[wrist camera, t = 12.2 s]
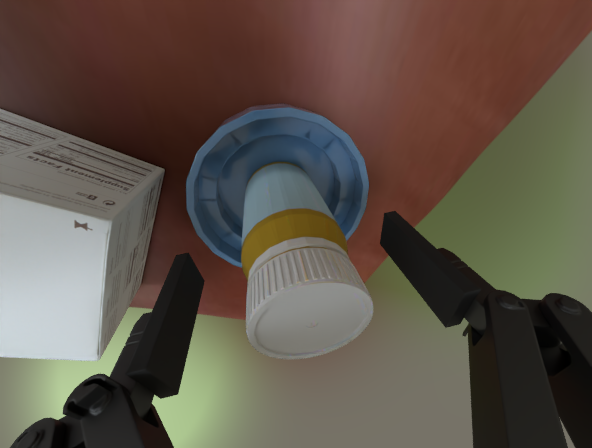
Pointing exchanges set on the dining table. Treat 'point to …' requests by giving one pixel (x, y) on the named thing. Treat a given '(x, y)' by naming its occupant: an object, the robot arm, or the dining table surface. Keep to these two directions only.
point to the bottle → (297, 269)
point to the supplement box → (68, 240)
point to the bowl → (263, 150)
